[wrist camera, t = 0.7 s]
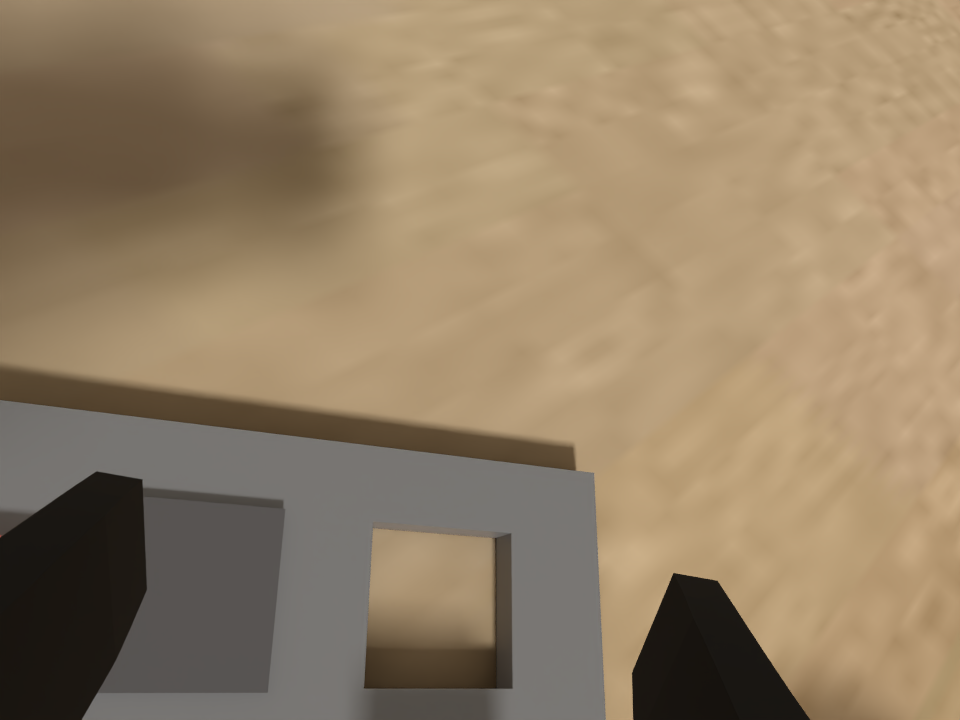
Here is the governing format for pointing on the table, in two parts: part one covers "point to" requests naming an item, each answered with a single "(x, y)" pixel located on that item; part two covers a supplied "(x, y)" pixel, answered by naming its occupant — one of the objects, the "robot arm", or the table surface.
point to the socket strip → (315, 567)
